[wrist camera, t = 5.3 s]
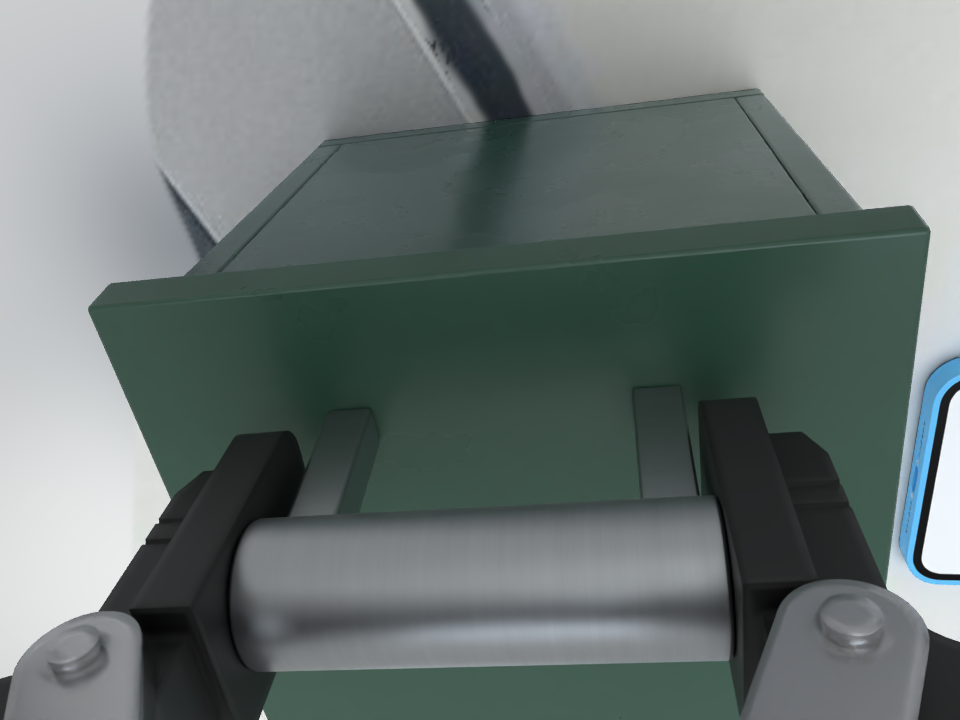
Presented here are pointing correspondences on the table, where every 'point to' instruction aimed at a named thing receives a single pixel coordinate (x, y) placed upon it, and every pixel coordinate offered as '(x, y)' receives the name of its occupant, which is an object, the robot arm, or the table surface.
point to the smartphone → (935, 484)
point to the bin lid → (521, 451)
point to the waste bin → (536, 183)
